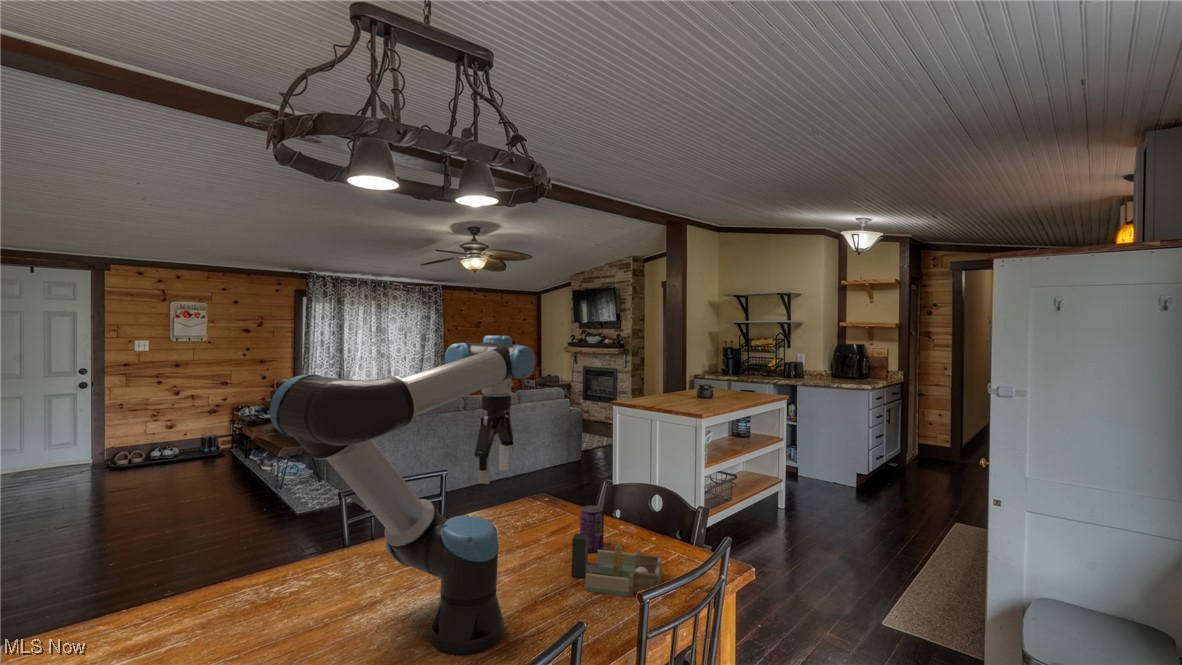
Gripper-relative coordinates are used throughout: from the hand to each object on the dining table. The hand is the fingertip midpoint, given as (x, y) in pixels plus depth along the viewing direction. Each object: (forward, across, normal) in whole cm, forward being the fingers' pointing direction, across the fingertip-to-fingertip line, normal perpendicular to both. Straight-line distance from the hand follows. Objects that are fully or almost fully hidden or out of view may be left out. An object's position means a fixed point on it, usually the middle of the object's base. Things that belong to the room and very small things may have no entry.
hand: (494, 476), depth 139 cm
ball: (+25, +8, -38) cm, 46 cm away
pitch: (+27, +8, -30) cm, 41 cm away
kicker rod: (+26, +8, -26) cm, 38 cm away
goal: (+27, +8, -40) cm, 48 cm away
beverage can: (+27, +26, -21) cm, 43 cm away
